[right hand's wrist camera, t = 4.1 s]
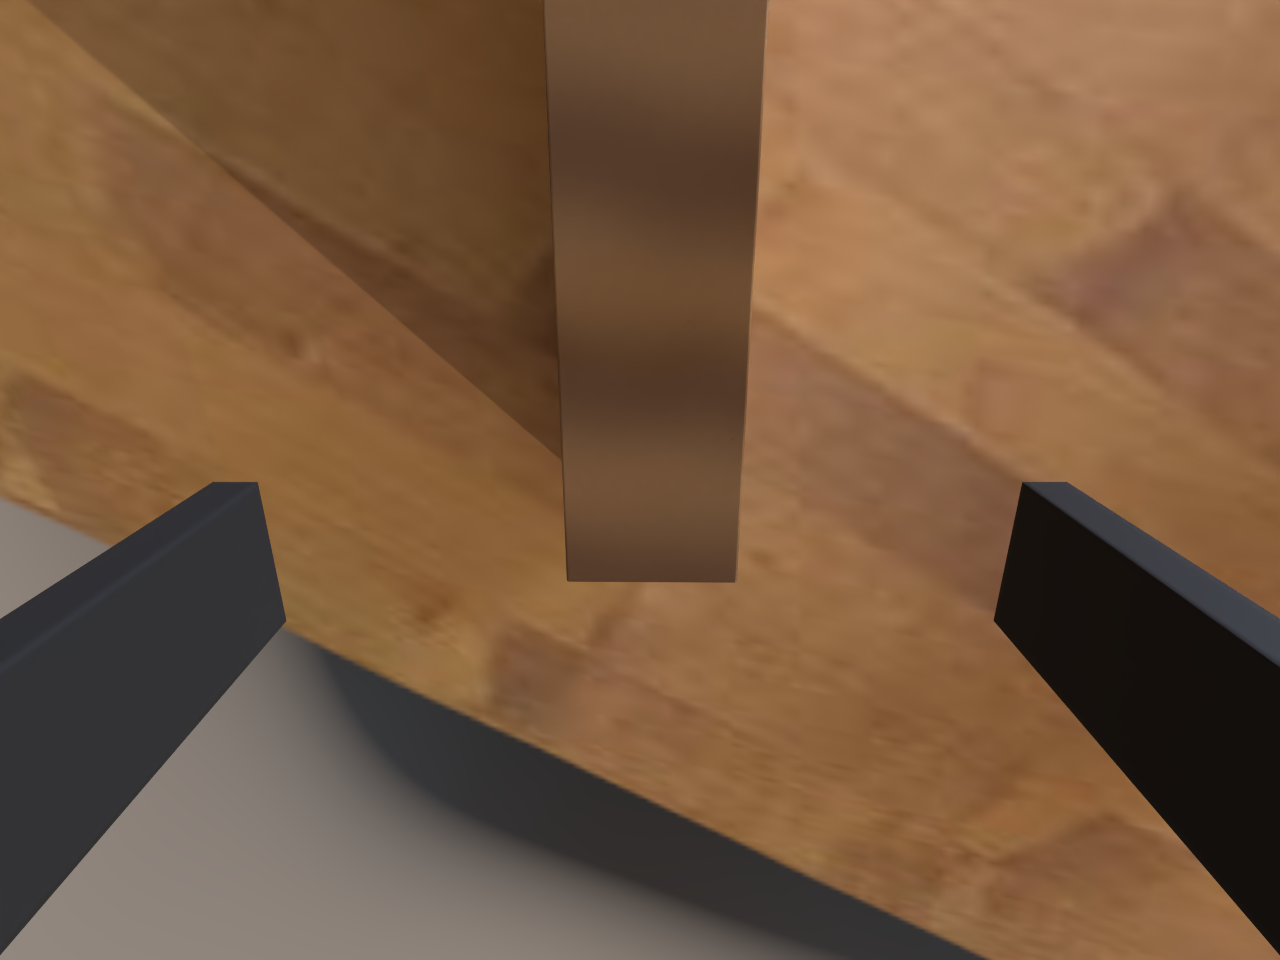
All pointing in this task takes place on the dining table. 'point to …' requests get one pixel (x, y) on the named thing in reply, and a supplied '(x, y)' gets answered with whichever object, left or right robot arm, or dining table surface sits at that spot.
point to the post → (653, 277)
